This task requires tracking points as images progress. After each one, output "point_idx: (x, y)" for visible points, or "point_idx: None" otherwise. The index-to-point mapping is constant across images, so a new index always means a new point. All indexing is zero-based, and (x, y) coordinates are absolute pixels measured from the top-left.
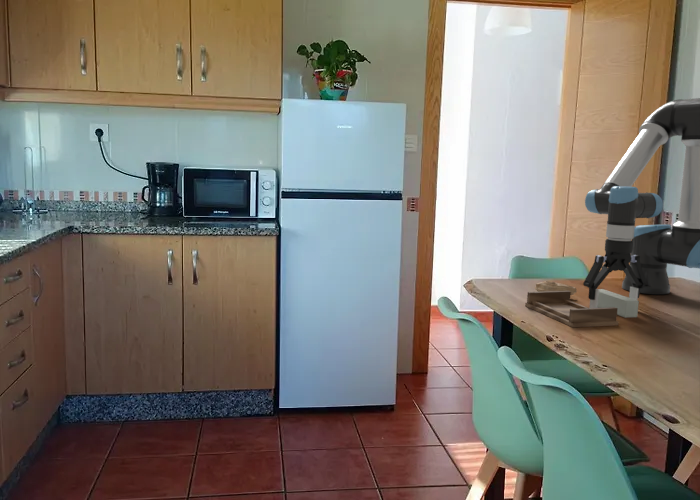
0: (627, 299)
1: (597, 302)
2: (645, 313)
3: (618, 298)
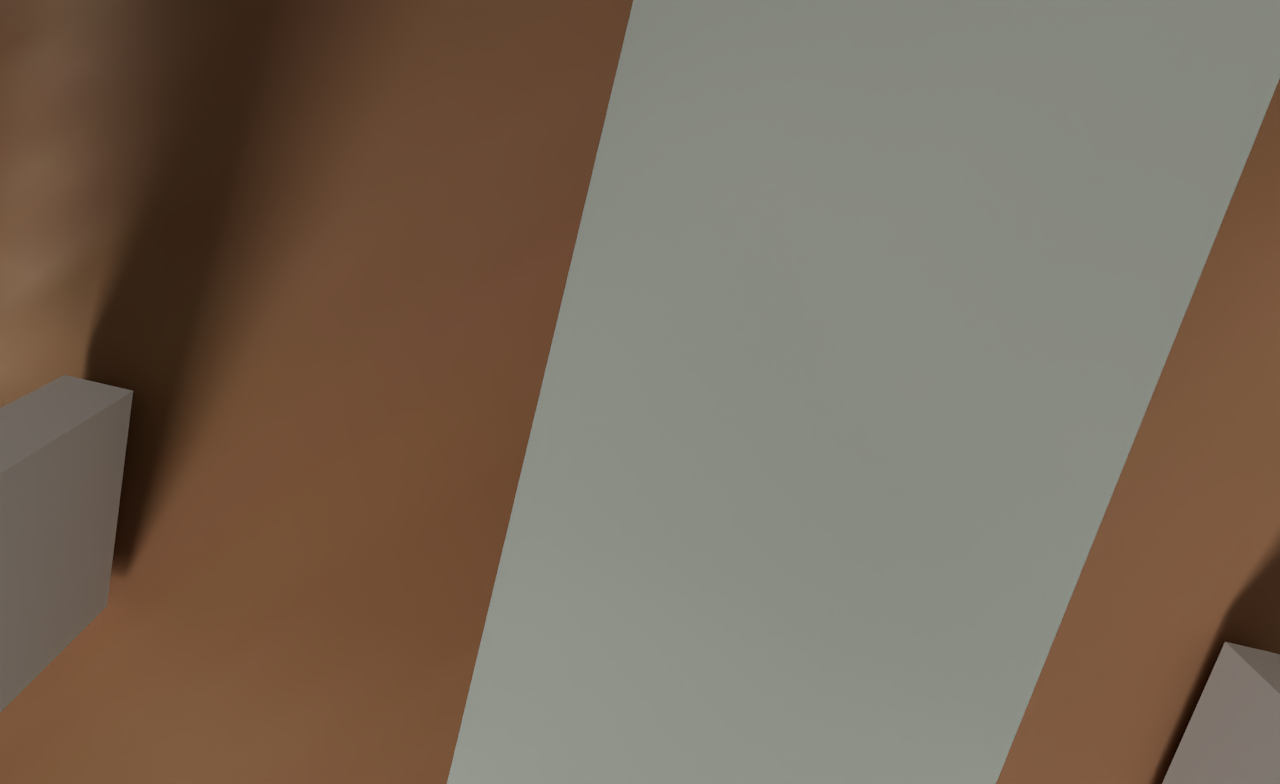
0: (965, 136)
1: None
2: (77, 47)
3: (1132, 436)
